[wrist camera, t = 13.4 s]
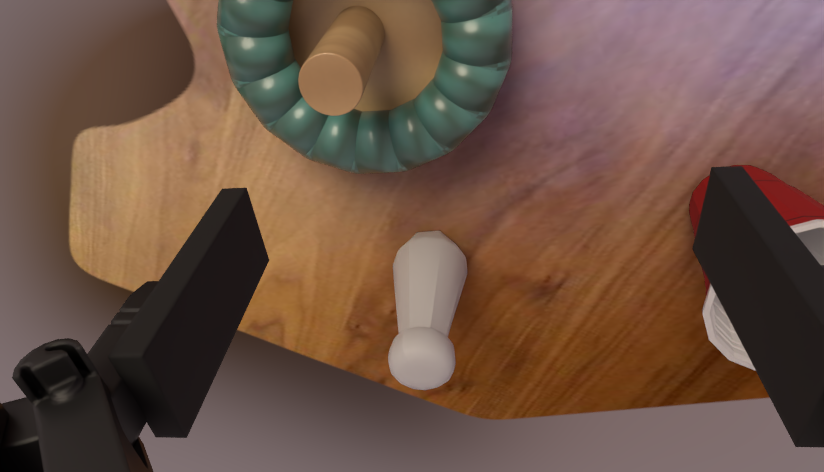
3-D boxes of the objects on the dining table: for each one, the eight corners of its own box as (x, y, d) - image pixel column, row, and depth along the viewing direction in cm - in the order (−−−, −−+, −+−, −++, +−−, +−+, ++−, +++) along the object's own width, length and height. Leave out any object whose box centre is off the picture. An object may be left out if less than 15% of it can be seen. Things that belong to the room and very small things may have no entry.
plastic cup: (787, 97, 37) (904, 193, 27) (830, 215, 41) (943, 333, 31) (626, 177, 41) (676, 285, 31) (682, 276, 45) (741, 396, 36)
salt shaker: (472, 225, 44) (473, 347, 34) (463, 281, 48) (462, 408, 37) (397, 217, 44) (376, 337, 34) (394, 273, 48) (373, 399, 37)
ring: (195, -117, 31) (163, -111, 28) (510, -152, 29) (516, -150, 26) (269, 161, 41) (252, 189, 37) (509, 149, 39) (513, 178, 35)
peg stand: (258, -62, 34) (186, -27, 25) (442, -81, 32) (434, -51, 24) (297, 112, 40) (251, 188, 31) (453, 102, 38) (450, 178, 30)
